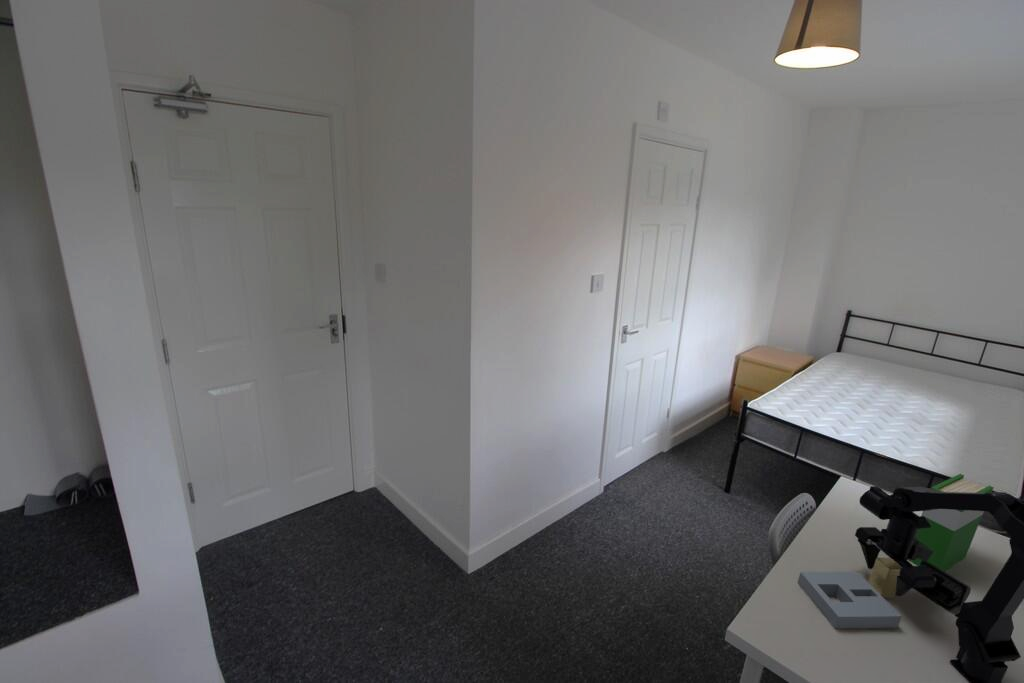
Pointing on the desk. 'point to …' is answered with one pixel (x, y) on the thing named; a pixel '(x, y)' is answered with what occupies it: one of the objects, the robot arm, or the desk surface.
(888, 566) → the brass square bit
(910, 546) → the robot arm
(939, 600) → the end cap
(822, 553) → the desk surface
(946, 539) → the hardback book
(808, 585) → the slate bore board
